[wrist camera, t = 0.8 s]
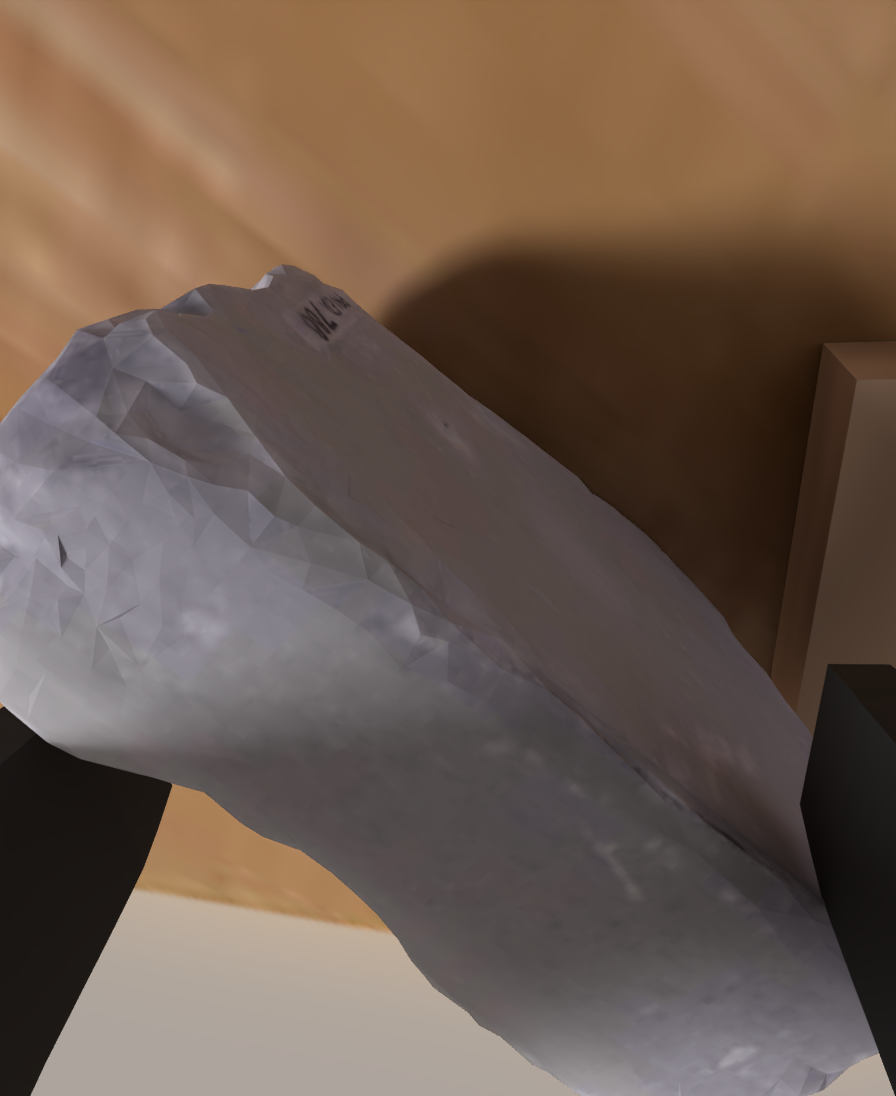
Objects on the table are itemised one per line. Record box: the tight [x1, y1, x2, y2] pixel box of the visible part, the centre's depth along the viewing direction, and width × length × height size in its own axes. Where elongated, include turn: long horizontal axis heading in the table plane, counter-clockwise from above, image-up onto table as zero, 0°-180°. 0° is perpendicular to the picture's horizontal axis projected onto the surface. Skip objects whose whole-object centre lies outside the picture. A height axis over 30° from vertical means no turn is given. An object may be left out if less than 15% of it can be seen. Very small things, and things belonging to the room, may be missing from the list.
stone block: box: [0, 264, 879, 1096], centre depth 12 cm, size 12×5×10 cm, turn 46°
